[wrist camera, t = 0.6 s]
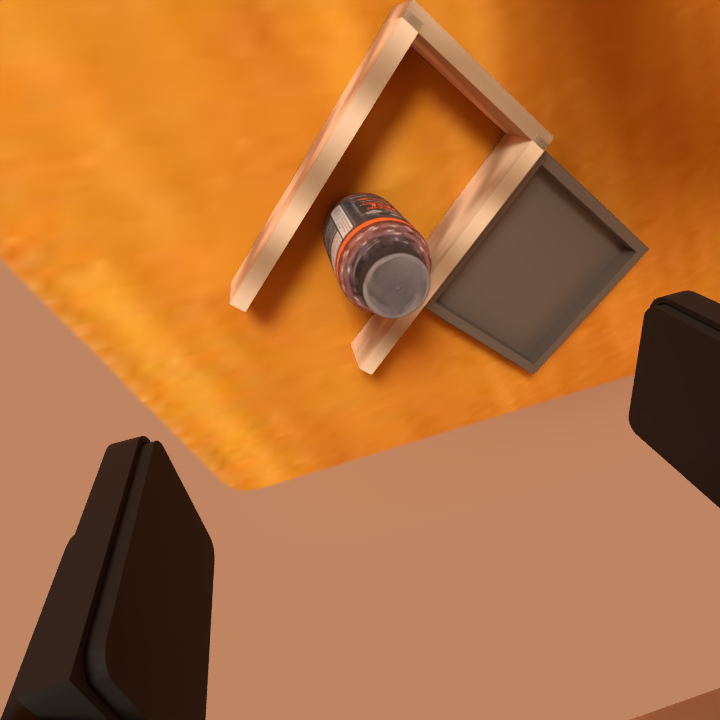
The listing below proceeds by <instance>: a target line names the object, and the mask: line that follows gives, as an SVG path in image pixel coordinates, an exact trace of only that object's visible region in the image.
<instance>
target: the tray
mask: <svg viewBox="0 0 720 720" xmlns="http://www.w3.org/2000/svg"><path fill="white" fill-rule="evenodd" d="M648 250H649V248H648V247H646V246H645V245H644V244H643V243H642V242H641V241H640V240H639V239H638V238H637V237H636V236H635V235H634V234H633V233H632V232H631V231H630V230H629V229H628V228H626V227H625V226H624V225H623V224H622V223H621V222H620V221H619V220H618V219H617V218H616V217H615V216H614V215H613V214H612V213H611V212H610V211H609V210H607V209H606V208H605V207H604V206H603V205H602V204H601V203H600V202H599V201H598V200H597V199H596V198H595V197H594V196H593V195H592V194H591V193H590V192H588V191H587V190H586V189H585V188H584V187H583V186H582V185H581V184H580V183H579V182H578V181H577V180H576V179H575V178H574V177H573V176H572V175H571V174H569V173H568V172H567V171H566V170H565V169H564V168H563V167H562V166H561V165H560V164H559V163H558V162H557V161H556V160H555V159H554V158H553V157H552V156H551V155H549V154H548V153H547V152H546V151H544V152H543V153H542V155H541V156H540V157H539V158H538V160H537V161H536V162H535V164H534V165H533V166H532V168H531V169H530V170H529V171H528V173H527V174H526V175H525V177H524V178H523V179H522V181H521V182H520V183H519V184H518V186H517V187H516V188H515V190H514V191H513V192H512V194H511V195H510V196H509V197H508V199H507V200H506V201H505V203H504V204H503V205H502V206H501V208H500V209H499V210H498V212H497V213H496V214H495V216H494V217H493V218H492V219H491V221H490V222H489V223H488V225H487V226H486V227H485V229H484V230H483V231H482V232H481V234H480V235H479V236H478V238H477V239H476V240H475V241H474V243H473V244H472V245H471V247H470V248H469V249H468V251H467V252H466V253H465V254H464V256H463V257H462V258H461V260H460V261H459V262H458V264H457V265H456V266H455V267H454V269H453V270H452V271H451V273H450V274H449V275H448V277H447V278H446V279H445V280H444V282H443V283H442V284H441V286H440V287H439V288H438V289H437V291H436V292H435V293H434V295H433V296H432V297H431V299H430V300H429V301H428V302H427V304H426V305H425V306H424V308H426V309H428V310H429V311H431V312H433V313H434V314H436V315H437V316H439V317H441V318H442V319H444V320H446V321H447V322H449V323H450V324H452V325H454V326H455V327H457V328H459V329H460V330H462V331H464V332H465V333H467V334H468V335H470V336H472V337H473V338H475V339H477V340H478V341H480V342H481V343H483V344H485V345H486V346H488V347H490V348H491V349H493V350H494V351H496V352H498V353H499V354H501V355H503V356H504V357H506V358H507V359H509V360H511V361H512V362H514V363H516V364H517V365H519V366H520V367H522V368H524V369H525V370H527V371H529V372H530V373H532V374H535V372H536V371H537V370H538V369H539V368H540V367H541V366H542V365H543V364H544V363H545V362H546V361H547V359H548V358H549V357H550V356H551V355H552V354H553V353H554V352H555V351H556V350H557V349H558V347H559V346H560V345H561V344H562V343H563V342H564V341H565V340H566V339H567V338H568V337H569V336H570V334H571V333H572V332H573V331H574V330H575V329H576V328H577V327H578V326H579V325H580V324H581V323H582V321H583V320H584V319H585V318H586V317H587V316H588V315H589V314H590V313H591V312H592V311H593V309H594V308H595V307H596V306H597V305H598V304H599V303H600V302H601V301H602V300H603V299H604V298H605V296H606V295H607V294H608V293H609V292H610V291H611V290H612V289H613V288H614V287H615V286H616V284H617V283H618V282H619V281H620V280H621V279H622V278H623V277H624V276H625V275H626V274H627V273H628V271H629V270H630V269H631V268H632V267H633V266H634V265H635V264H636V263H637V262H638V261H639V260H640V258H641V257H642V256H643V255H644V254H645V253H646V252H647V251H648Z"/></svg>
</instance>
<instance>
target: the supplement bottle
mask: <svg viewBox="0 0 720 720" xmlns="http://www.w3.org/2000/svg"><path fill="white" fill-rule="evenodd" d="M323 240H324V245H325V248H326V251H327V254H328V256H329V259H330V261H331V264H332V266H333V269H334V271H335V274H336V276H337V279H338V281H339V284H340V286H341V288H342V290H343V292H344V293H345V295H346V296H347V298H348V299H349V300H350V301H351V302H352V303H353V304H354V305H356V306H357V307H359V308H360V309H362V310H365V311H367V312H371V313H375V314H377V315H379V316H382V317H384V318H390V319H397V318H401V317H405V316H407V315H410V314H411V313H413V312H415V311H416V310H417V309H418V308H419V307H420V306H421V305H422V304H423V303H424V301H425V300H426V298H427V296H428V293H429V290H430V283H431V282H430V280H431V279H430V275H431V269H432V260H431V253H430V250H429V247H428V245H427V243H426V241H425V240H424V238H423V237H422V235H421V234H420V233H419V232H418V231H417V230H416V229H415V228H414V227H413V226H412V225H411V224H410V223H409V222H408V221H407V220H406V219H405V218H404V217H403V216H402V215H401V214H400V213H399V212H398V211H397V210H396V209H395V208H394V207H393V206H392V205H391V204H390V203H389V202H388V201H386V200H384V199H383V198H381V197H380V196H377V195H375V194H371V193H356V194H352V195H349V196H346V197H344V198H342V199H341V200H339V201H338V202H337V203H336V204H335V205H334V206H333V207H332V209H331V210H330V211H329V213H328V214H327V217H326V219H325V222H324V226H323Z"/></svg>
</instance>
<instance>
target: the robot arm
mask: <svg viewBox="0 0 720 720" xmlns="http://www.w3.org/2000/svg"><path fill="white" fill-rule="evenodd" d="M629 422H630V425H631V428H632V429H633V431H634V432H635V433H636V434H637V435H638V436H639V437H640V438H641V439H642V440H643V441H645V442H646V443H647V444H648V445H649V446H650V447H651V448H652V449H654V450H655V451H656V452H657V453H658V454H659V455H660V456H662V457H663V458H664V459H665V460H666V461H667V462H668V463H669V464H671V465H672V466H673V467H674V468H675V469H676V470H677V471H679V472H680V473H681V474H682V475H683V476H684V477H685V478H686V479H687V480H689V481H690V482H691V483H692V484H693V485H694V486H695V487H697V488H698V489H699V490H700V491H701V492H702V493H703V494H705V495H706V496H707V497H708V498H709V499H710V500H711V501H712V502H714V503H715V504H716V505H717V506H718V507H719V508H720V304H719V303H717V302H715V301H713V300H711V299H708V298H706V297H704V296H702V295H700V294H697V293H695V292H692V291H682V292H678V293H674V294H670V295H667V296H663V297H659V298H657V299H655V300H654V301H653V302H652V304H651V306H650V308H649V309H647V311H646V312H645V315H644V320H643V326H642V333H641V339H640V346H639V352H638V359H637V365H636V372H635V378H634V385H633V391H632V398H631V405H630V411H629ZM213 576H214V548H213V544H212V541H211V538H210V536H209V534H208V532H207V530H206V528H205V526H204V524H203V523H202V521H201V519H200V517H199V515H198V513H197V511H196V509H195V507H194V505H193V503H192V501H191V499H190V497H189V495H188V493H187V492H186V490H185V488H184V486H183V484H182V482H181V480H180V478H179V476H178V474H177V472H176V470H175V468H174V466H173V465H172V463H171V461H170V459H169V457H168V455H167V453H166V451H165V449H164V447H163V446H162V444H161V443H160V442H159V441H154V442H150V440H149V439H148V438H147V437H145V436H141V437H137V438H133V439H129V440H125V441H122V442H118V443H114V444H111V445H109V446H108V448H107V449H106V452H105V454H104V457H103V460H102V463H101V465H100V468H99V471H98V474H97V476H96V479H95V481H94V484H93V487H92V490H91V492H90V495H89V498H88V500H87V503H86V506H85V509H84V511H83V514H82V517H81V519H80V522H79V525H78V527H77V530H76V533H75V535H74V536H73V537H72V538H71V539H70V541H69V543H68V544H67V546H66V548H65V551H64V554H63V556H62V559H61V562H60V564H59V567H58V569H57V572H56V575H55V577H54V580H53V583H52V585H51V588H50V591H49V593H48V596H47V599H46V602H45V604H44V606H43V609H42V612H41V615H40V617H39V620H38V623H37V625H36V628H35V630H34V633H33V635H32V638H31V641H30V643H29V646H28V649H27V652H26V654H25V657H24V659H23V662H22V665H21V667H20V670H19V672H18V675H17V678H16V680H15V683H14V686H13V688H12V691H11V693H10V696H9V699H8V701H7V704H6V707H5V709H4V712H3V715H2V717H1V720H205V717H206V700H207V699H206V698H207V682H208V664H209V647H210V628H211V610H212V593H213ZM631 720H720V688H719V689H716V690H713V691H710V692H707V693H704V694H702V695H699V696H696V697H693V698H690V699H687V700H685V701H682V702H679V703H676V704H674V705H671V706H668V707H665V708H662V709H660V710H657V711H654V712H651V713H648V714H645V715H643V716H640V717H637V718H634V719H631Z"/></svg>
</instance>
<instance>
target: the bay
mask: <svg viewBox="0 0 720 720" xmlns="http://www.w3.org/2000/svg"><path fill="white" fill-rule="evenodd" d="M410 46H411V47H412V48H413V49H414V50H415V51H416V52H418V53H419V54H420V55H421V56H422V57H423V58H424V59H425V60H426V61H427V62H428V63H429V64H431V65H432V66H433V67H434V68H435V69H436V70H437V71H438V72H439V73H440V74H441V75H443V76H444V77H445V78H446V79H447V80H448V81H449V82H450V83H451V84H452V85H453V86H454V87H456V88H457V89H458V90H459V91H460V92H461V93H462V94H463V95H464V96H465V97H466V98H468V99H469V100H470V101H471V102H472V103H473V104H474V105H475V106H476V107H477V108H478V109H479V110H481V111H482V112H483V113H484V114H485V115H486V116H487V117H488V118H489V119H490V120H491V121H493V122H494V123H495V124H496V125H497V126H498V127H499V128H500V129H501V130H502V131H503V132H504V133H505V134H504V135H503V137H502V138H501V139H500V141H499V142H498V143H497V145H496V146H495V148H494V149H493V150H492V152H491V153H490V154H489V156H488V157H487V158H486V160H485V161H484V163H483V164H482V165H481V167H480V168H479V169H478V171H477V172H476V174H475V175H474V176H473V178H472V179H471V180H470V182H469V183H468V184H467V186H466V187H465V189H464V190H463V191H462V193H461V194H460V195H459V197H458V198H457V200H456V201H455V202H454V204H453V205H452V206H451V208H450V209H449V210H448V212H447V213H446V215H445V216H444V217H443V219H442V220H441V221H440V223H439V224H438V225H437V227H436V228H435V230H434V231H433V232H432V234H431V235H430V236H429V238H428V239H427V241H426V243H427V245H428V247H429V250H430V253H431V260H432V269H431V275H430V279H431V280H430V282H431V283H430V290H429V293H428V296H427V298H426V300H425V301H424V303H423V304H422V305H421V306H420V307H419V308H418V309H417V310H416V311H415V312H413V313H411V314H410V315H407V316H405V317H401V318H397V319H390V318H384V317H382V316H379V315H377V314H375V313H373V314H372V316H371V317H370V319H369V320H368V321H367V323H366V324H365V325H364V327H363V328H362V329H361V331H360V332H359V334H358V335H357V336H356V338H355V339H354V340H353V342H352V343H351V347H352V349H353V352H354V355H355V358H356V360H357V363H358V366H359V368H360V369H361V370H363V371H365V372H367V373H369V374H371V375H372V374H373V372H374V371H375V370H376V369H377V367H378V366H379V365H380V363H381V362H382V361H383V359H384V358H385V357H386V356H387V354H388V353H389V352H390V350H391V349H392V348H393V347H394V345H395V344H396V343H397V341H398V340H399V339H400V337H401V336H402V335H403V334H404V332H405V331H406V330H407V328H408V327H409V326H410V324H411V323H412V322H413V321H414V319H415V318H416V317H417V315H418V314H419V313H420V312H421V310H422V309H423V308H424V306H425V305H426V304H427V302H428V301H429V300H430V299H431V297H432V296H433V295H434V293H435V292H436V291H437V289H438V288H439V287H440V286H441V284H442V283H443V282H444V280H445V279H446V278H447V277H448V275H449V274H450V273H451V271H452V270H453V269H454V267H455V266H456V265H457V264H458V262H459V261H460V260H461V258H462V257H463V256H464V254H465V253H466V252H467V251H468V249H469V248H470V247H471V245H472V244H473V243H474V241H475V240H476V239H477V238H478V236H479V235H480V234H481V232H482V231H483V230H484V229H485V227H486V226H487V225H488V223H489V222H490V221H491V219H492V218H493V217H494V216H495V214H496V213H497V212H498V210H499V209H500V208H501V206H502V205H503V204H504V203H505V201H506V200H507V199H508V197H509V196H510V195H511V194H512V192H513V191H514V190H515V188H516V187H517V186H518V184H519V183H520V182H521V181H522V179H523V178H524V177H525V175H526V174H527V173H528V171H529V170H530V169H531V168H532V166H533V165H534V164H535V162H536V161H537V160H538V158H539V157H540V156H541V155H542V153H543V152H544V151H545V149H546V148H547V147H548V146H549V144H550V143H551V142H552V140H553V139H554V137H553V136H552V135H551V134H550V133H549V132H548V131H547V130H546V129H545V128H544V127H543V126H542V125H541V124H540V123H539V122H538V121H537V120H536V119H535V118H534V117H533V116H532V115H531V114H530V113H529V112H528V111H527V110H526V109H525V108H524V107H523V106H522V105H521V104H520V103H519V102H518V101H517V100H516V99H515V98H513V97H512V96H511V95H510V94H509V93H508V92H507V91H506V90H505V89H504V88H503V87H502V86H501V85H500V84H499V83H498V82H497V81H496V80H495V79H494V78H493V77H492V76H491V75H490V74H489V73H488V72H487V71H486V70H485V69H484V68H483V67H482V66H481V65H480V64H479V63H478V62H477V61H476V60H475V59H474V58H473V57H472V56H471V55H470V54H469V53H468V52H467V51H466V50H464V49H463V48H462V47H461V46H460V45H459V44H458V43H457V42H456V41H455V40H454V39H453V38H452V37H451V36H450V35H449V34H448V33H447V32H446V31H445V30H444V29H443V28H442V27H441V26H440V25H439V24H438V23H437V22H436V21H435V20H434V19H433V18H432V17H431V16H430V15H429V14H428V13H427V12H426V11H425V10H424V9H423V8H422V7H421V6H420V5H419V4H418V3H417V2H415V1H414V0H409V1H407V2H404V3H402V4H399V5H397V6H394V8H393V9H392V11H391V13H390V15H389V16H388V18H387V20H386V21H385V23H384V25H383V26H382V28H381V30H380V31H379V33H378V35H377V37H376V38H375V40H374V42H373V43H372V45H371V47H370V48H369V50H368V52H367V53H366V55H365V57H364V59H363V60H362V62H361V64H360V65H359V67H358V69H357V70H356V72H355V74H354V75H353V77H352V79H351V81H350V82H349V84H348V86H347V87H346V89H345V91H344V92H343V94H342V96H341V97H340V99H339V101H338V103H337V104H336V106H335V108H334V109H333V111H332V113H331V114H330V116H329V118H328V119H327V121H326V123H325V125H324V126H323V128H322V130H321V131H320V133H319V135H318V136H317V138H316V140H315V141H314V143H313V145H312V147H311V148H310V150H309V152H308V153H307V155H306V157H305V158H304V160H303V162H302V163H301V165H300V167H299V169H298V170H297V172H296V174H295V175H294V177H293V179H292V180H291V182H290V184H289V185H288V187H287V189H286V191H285V192H284V194H283V196H282V197H281V199H280V201H279V202H278V204H277V206H276V207H275V209H274V211H273V213H272V214H271V216H270V218H269V219H268V221H267V223H266V224H265V226H264V228H263V230H262V231H261V233H260V235H259V236H258V238H257V240H256V241H255V243H254V245H253V246H252V248H251V250H250V252H249V253H248V255H247V257H246V258H245V260H244V262H243V263H242V265H241V267H240V268H239V270H238V272H237V274H236V275H235V277H234V279H233V280H232V282H231V295H230V304H231V305H233V306H235V307H237V308H239V309H241V310H243V311H245V312H246V310H247V309H248V307H249V306H250V304H251V302H252V301H253V299H254V297H255V296H256V294H257V293H258V291H259V289H260V288H261V286H262V285H263V283H264V281H265V280H266V278H267V276H268V275H269V273H270V272H271V270H272V268H273V267H274V265H275V264H276V262H277V260H278V259H279V257H280V255H281V254H282V252H283V251H284V249H285V247H286V246H287V244H288V242H289V241H290V239H291V238H292V236H293V234H294V233H295V231H296V230H297V228H298V226H299V225H300V223H301V221H302V220H303V218H304V217H305V215H306V213H307V212H308V210H309V209H310V207H311V205H312V204H313V202H314V200H315V199H316V197H317V196H318V194H319V192H320V191H321V189H322V188H323V186H324V184H325V183H326V181H327V179H328V178H329V176H330V175H331V173H332V171H333V170H334V168H335V167H336V165H337V163H338V162H339V160H340V158H341V157H342V155H343V154H344V152H345V150H346V149H347V147H348V145H349V144H350V142H351V141H352V139H353V137H354V136H355V134H356V133H357V131H358V129H359V128H360V126H361V124H362V123H363V121H364V120H365V118H366V116H367V115H368V113H369V112H370V110H371V108H372V107H373V105H374V103H375V102H376V100H377V99H378V97H379V95H380V94H381V92H382V91H383V89H384V87H385V86H386V84H387V82H388V81H389V79H390V78H391V76H392V74H393V73H394V71H395V69H396V68H397V66H398V65H399V63H400V61H401V60H402V58H403V57H404V55H405V53H406V52H407V50H408V48H409V47H410Z"/></svg>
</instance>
